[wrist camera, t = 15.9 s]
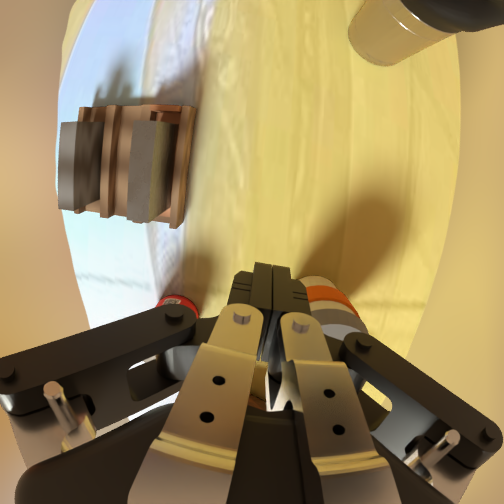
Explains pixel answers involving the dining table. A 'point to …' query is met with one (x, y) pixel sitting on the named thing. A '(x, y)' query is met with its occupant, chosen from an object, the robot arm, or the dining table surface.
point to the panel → (151, 169)
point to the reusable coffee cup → (332, 308)
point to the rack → (116, 159)
